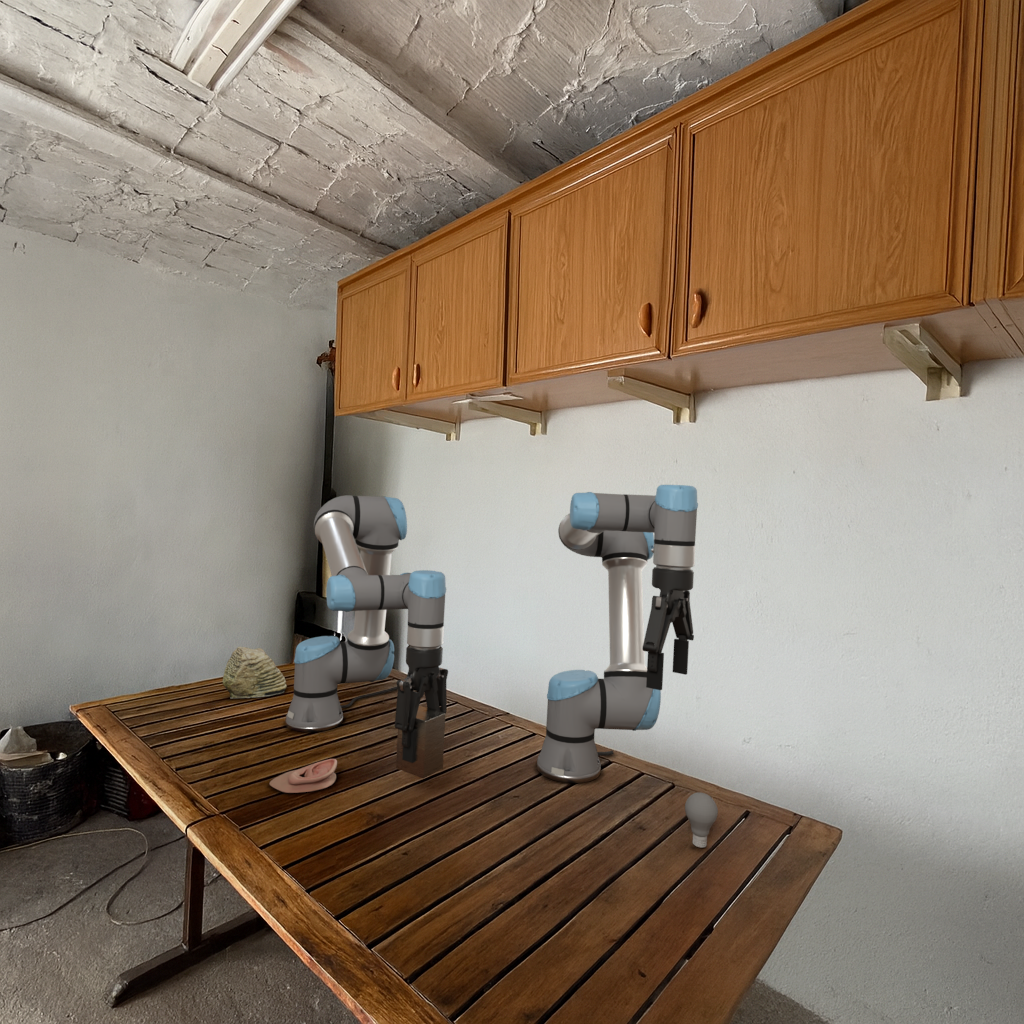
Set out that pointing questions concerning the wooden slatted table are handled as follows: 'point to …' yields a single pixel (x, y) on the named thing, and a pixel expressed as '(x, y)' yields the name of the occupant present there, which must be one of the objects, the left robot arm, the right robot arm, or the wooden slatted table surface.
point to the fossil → (252, 674)
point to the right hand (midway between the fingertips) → (667, 680)
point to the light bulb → (701, 816)
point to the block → (424, 744)
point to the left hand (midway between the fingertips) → (419, 755)
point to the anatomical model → (307, 778)
